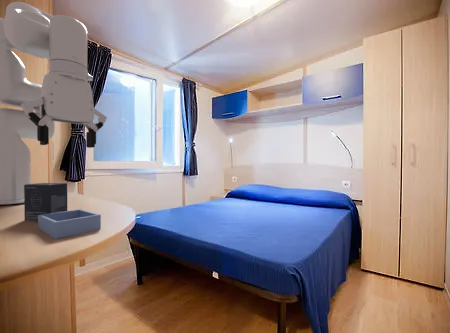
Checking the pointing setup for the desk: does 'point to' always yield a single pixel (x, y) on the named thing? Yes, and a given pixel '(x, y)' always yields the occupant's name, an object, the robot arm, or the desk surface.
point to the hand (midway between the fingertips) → (68, 146)
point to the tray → (69, 223)
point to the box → (44, 199)
